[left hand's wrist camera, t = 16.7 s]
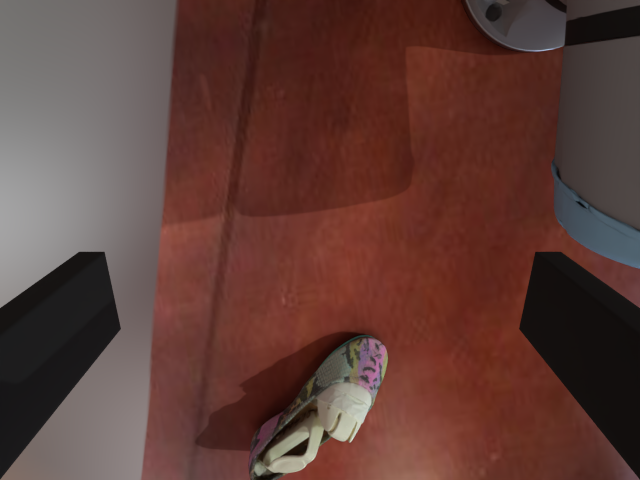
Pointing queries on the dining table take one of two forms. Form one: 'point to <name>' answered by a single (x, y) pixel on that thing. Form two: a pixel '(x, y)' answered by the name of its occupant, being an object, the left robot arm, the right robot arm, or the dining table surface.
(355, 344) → the ballet flat
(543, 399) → the dining table surface
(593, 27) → the left robot arm
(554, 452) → the dining table surface
